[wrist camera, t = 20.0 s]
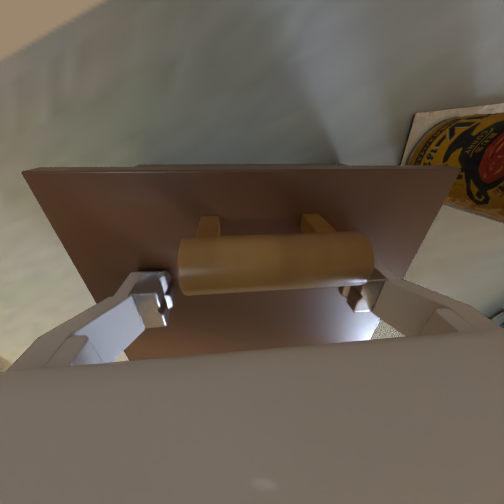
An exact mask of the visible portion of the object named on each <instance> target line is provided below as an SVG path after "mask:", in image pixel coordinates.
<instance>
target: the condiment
mask: <svg viewBox="0 0 504 504" xmlns="http://www.w3.org/2000/svg"><path fill="white" fill-rule="evenodd" d="M401 165H446V166H451V167H456V168H460V169H461V171H460V173H459V174H458V176H457V178H456V180H455V182H454V184H453V186H452V188H451V189H450V191H449V193H448V195H447V197H446V199H445V201H444V202H443V204H444V205H447V206H450V207H453V208H456V209H460V210H463V211H466V212H469V213H472V214H475V215H479V216H482V217H485V218H488V219H491V220H494V221H498V222H501V223H504V103H501V104H493V105H483V106H475V107H466V108H457V109H448V110H440V111H431V112H422V113H416V114H415V117H414V120H413V124H412V128H411V132H410V134H409V139H408V142H407V144H406V148H405V151H404V156H403V159H402V162H401Z"/></svg>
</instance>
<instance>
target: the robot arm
mask: <svg viewBox="0 0 504 504" xmlns="http://www.w3.org/2000/svg"><path fill="white" fill-rule="evenodd" d="M170 281H171V275H170V272H169V271H168V270H165V271H136V272H131V273H130V274H129V276H128V277H127V278H126V280H125V281H124V282H123V284H122V285H121V287H120V288H119V289H118V291H117V292H116V293H115V295H114V296H113V297H108V298H106V299H104V300H103V301H101V302H99V303H98V304H96V305H94V306H92V307H91V308H89V309H87V310H85V311H84V312H82V313H80V314H78V315H77V316H75V317H73V318H71V319H70V320H68V321H66V322H65V323H63V324H61V325H59V326H58V327H56V328H54V329H52V330H51V331H49V332H47V333H45V334H44V335H42V336H40V337H38V338H37V339H36V340H35V341H34V342H33V344H32V345H31V346H30V347H29V348H28V349H27V350H26V351H25V352H24V353H23V354H22V355H21V356H20V357H19V358H18V359H17V360H16V361H15V362H14V364H13V365H12V366H11V367H10V368H9V369H8V370H7V371H6V372H0V504H504V328H501V327H500V326H498V325H497V324H495V323H494V322H493V321H491V320H490V319H488V318H487V317H485V316H484V315H483V314H481V313H480V312H478V311H477V310H476V309H474V308H473V307H471V306H470V305H467V304H465V303H462V302H459V301H457V300H454V299H452V298H449V297H447V296H444V295H442V294H439V293H437V292H434V291H432V290H429V289H427V288H424V287H422V286H419V285H416V284H414V283H411V282H409V281H406V280H404V279H399V278H398V277H396V276H395V275H394V274H393V273H392V272H390V271H389V270H388V269H387V268H386V267H384V266H383V265H382V264H381V263H380V262H379V261H377V260H375V263H374V270H373V273H372V276H371V277H370V279H369V280H368V281H367V282H366V283H364V284H362V285H355V286H339V287H338V290H339V292H340V294H341V295H342V296H344V297H345V298H347V301H346V302H347V304H348V305H349V306H350V308H351V309H352V311H353V312H372V313H373V314H374V315H376V316H377V317H379V318H380V319H382V320H383V321H384V322H386V323H387V324H389V325H390V326H392V327H393V328H395V329H396V330H398V331H399V332H400V333H402V334H403V335H405V336H406V337H396V338H385V339H373V340H362V341H350V342H339V343H327V344H316V345H304V346H293V347H281V348H270V349H259V350H247V351H236V352H224V353H213V354H201V355H190V356H179V357H167V358H156V359H144V360H133V361H121V362H113V361H114V360H115V359H116V358H117V357H118V356H119V355H120V354H121V353H122V352H123V351H124V350H125V349H126V348H127V347H128V346H129V345H130V344H131V343H132V342H133V341H134V340H135V339H136V338H137V337H138V336H139V335H140V334H141V333H142V332H143V331H144V330H145V328H155V327H165V326H166V325H167V322H168V319H169V316H170V312H169V309H170V308H171V307H172V306H173V304H174V299H175V291H174V286H173V285H172V284H171V283H170Z"/></svg>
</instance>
